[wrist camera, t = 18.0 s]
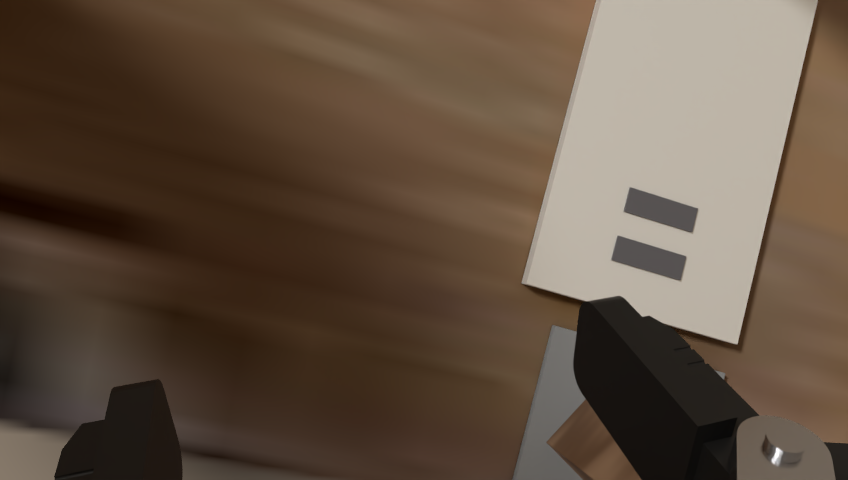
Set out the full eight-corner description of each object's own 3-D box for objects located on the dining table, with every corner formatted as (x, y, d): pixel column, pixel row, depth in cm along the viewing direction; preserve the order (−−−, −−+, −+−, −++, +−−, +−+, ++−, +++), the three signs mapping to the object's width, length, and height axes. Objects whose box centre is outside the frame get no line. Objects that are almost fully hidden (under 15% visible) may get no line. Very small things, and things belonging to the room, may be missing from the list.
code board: (521, 283, 31) (527, 283, 30) (642, -176, 33) (651, -188, 32) (727, 342, 32) (738, 344, 32) (831, -100, 34) (844, -110, 33)
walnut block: (617, 515, 31) (756, 632, 21) (546, 442, 30) (653, 525, 20) (686, 437, 31) (852, 515, 22) (617, 364, 31) (753, 409, 21)
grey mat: (503, 512, 30) (506, 515, 30) (552, 325, 31) (555, 325, 31) (677, 553, 32) (682, 557, 31) (720, 372, 32) (725, 373, 32)
